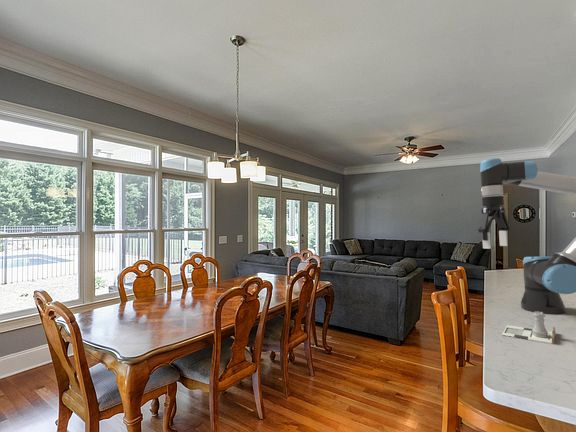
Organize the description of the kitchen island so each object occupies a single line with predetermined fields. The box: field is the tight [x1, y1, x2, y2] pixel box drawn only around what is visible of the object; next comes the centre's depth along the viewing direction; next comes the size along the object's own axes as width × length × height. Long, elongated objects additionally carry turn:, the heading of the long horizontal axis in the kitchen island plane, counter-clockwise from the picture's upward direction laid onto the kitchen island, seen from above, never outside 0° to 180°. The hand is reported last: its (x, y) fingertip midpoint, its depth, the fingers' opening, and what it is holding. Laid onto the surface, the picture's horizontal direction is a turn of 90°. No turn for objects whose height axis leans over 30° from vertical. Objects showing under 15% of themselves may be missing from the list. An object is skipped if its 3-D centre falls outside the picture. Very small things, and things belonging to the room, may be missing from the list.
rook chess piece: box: [531, 311, 548, 338], centre depth 109 cm, size 4×4×8 cm
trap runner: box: [501, 324, 556, 345], centre depth 111 cm, size 12×14×2 cm
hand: (495, 247), depth 132 cm, fingers open, 13 cm apart
